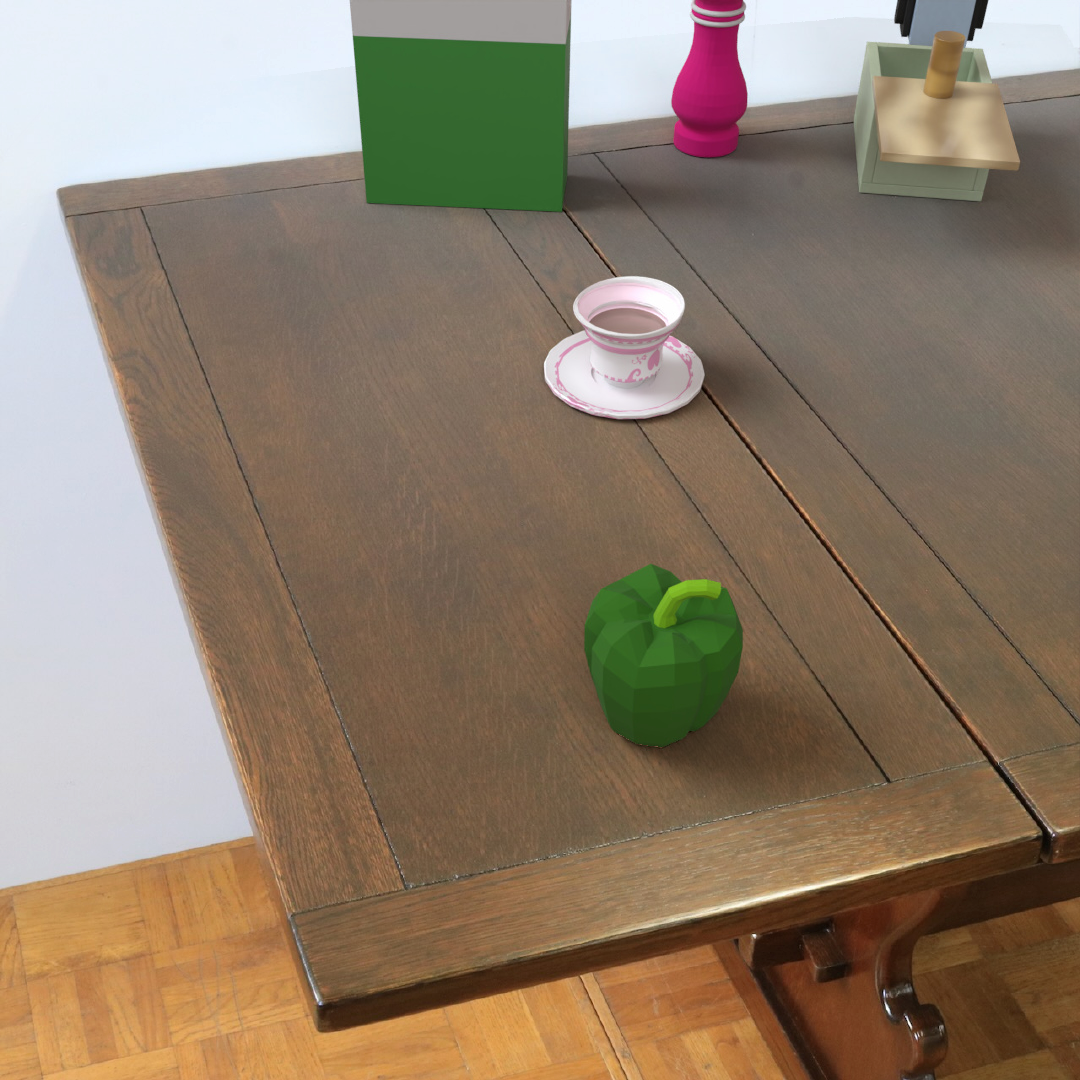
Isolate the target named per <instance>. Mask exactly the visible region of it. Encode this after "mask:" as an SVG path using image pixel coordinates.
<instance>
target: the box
mask: <svg viewBox="0 0 1080 1080" xmlns="http://www.w3.org/2000/svg"><path fill="white" fill-rule="evenodd" d="M931 50H932V46H922V45H909V43H898V42H897V43H896V42H883V41H882V42H881V41H866V45H865V51H864V56H863V63H862V68H861V73H860V80H859V85H858V91H857V97H856V103H855V109H854V115H853V132H854V133H853V134H854V145H855V156H856V157H855V159H856V169H857V183H858V193H861V194H876V195H887V196H888V195H889V196H899V197H900V196H901V197H915V198H929V199H943V200H956V201H970V202H982V200H983V196H984V191H985V188H986V184H987V181H988V176H989V172H990V169H985V168H971V167H957V166H943V165H929V164H915V163H901V162H887V161H880V154H879V144H878V135H877V126H876V117H875V107H874V98H873V89H872V81H873V76H885V77H901V78H916V79H926V74H927V69H928V64H929V60H930V55H931ZM989 69H990V68H989V66H988V63H987V58H986V54H985V51H984V48H975V47H966V48H963V52H962V57H961V61H960V66H959V70H958V75H957V79H956V81H962V82H978V83H993V81H992V77H991V74H990V70H989Z"/></svg>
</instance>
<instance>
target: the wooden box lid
mask: <svg viewBox="0 0 1080 1080" xmlns="http://www.w3.org/2000/svg"><path fill="white" fill-rule="evenodd" d="M964 43H965V36H964V35H963V34H961V33H958V32H954V31H939V32H937V33H935V35H934V40H933V45H932V50H931V55H930V60H929V64H928V69H927V74H926V79H916V78H901V77H885V76H873V81H872V89H873V98H874V107H875V117H876V126H877V135H878V144H879V154H880V161H887V162H901V163H915V164H929V165H943V166H957V167H971V168H985V169H989V170H1001V171H1015V172H1017V171H1018V172H1019V168H1020V164H1021V160H1020V156H1019V153H1018V149H1017V146H1016V141H1015V139H1014V136H1013V135H1014V134H1013V132H1012V129H1011V125H1010V121H1009V118H1008V114H1007V111H1006V107H1005V104H1004V101H1003V98H1002V93H1001V90H1000V87H999V84H998V83H993V82H992V83H978V82H962V81H956V79H957V75H958V70H959V66H960V61H961V57H962V52H963V48H964Z"/></svg>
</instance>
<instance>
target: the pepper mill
mask: <svg viewBox="0 0 1080 1080" xmlns="http://www.w3.org/2000/svg"><path fill="white" fill-rule="evenodd" d="M690 8H691V11H690V12H689V17H690V19H691V21H693V35H692V36H693V37H692V44H691V46H690V49H689V53H688V55H687V56H686V57H687V58H686V59H685V62H684V64H683V66H682V68H681V69H680V71H679V73H678V75H677V77H676V80H675V82H674V85H673V89H672V93H671V103H670V104H671V108H672V111H673V113H674V114H675V115H676V117H677V118H678V120H677V121H676V122H675V124H674V126H673V127H674V129H673V140H672V141H673V145H674V147H675V148H676V149H677V150H678V151H680V152H681V153H684V154H686V155H688V156H692V157H693V156H694V157H696V158H697V157H698V158H719V157H725V156H727V155H730V154H731V153H733V152H734V151H735V150H736V149H737V147H738V145H739V135H740V134H739V133H740V127H739V126H738V124H737V123H738V122H739V121H740V120H741V119H742V117H743V116H744V115H745V113H746V111H747V108H748V98H749V97H748V96H749V95H748V88H747V81H746V79H745V76H744V72H743V70H742V67H741V63H740V60H739V50H738V37H739V29H740V25H741V24H742V23H743V22H744V21H745V20H746V15H745V11H746V10H747V4H746V2H745V1H744V0H691V2H690Z"/></svg>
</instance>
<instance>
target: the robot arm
mask: <svg viewBox="0 0 1080 1080" xmlns="http://www.w3.org/2000/svg"><path fill="white" fill-rule="evenodd" d="M915 4H916V0H897V1H896V6H895V12H894V19H893V20H894V21H893V22H894V24H895V25H899V32H900V37H901V38H908V36H909V35H910V30H911V25H912V19H913V14H914V9H915ZM988 4H989V0H976V3H975V7H974V12H973V16H972V21H971V25H970V30H969V34H968V39H967V42H973V41H974V37H975V34H976V30H982V29H983V25H984V22H985V18H986V13H987V9H988Z"/></svg>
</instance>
